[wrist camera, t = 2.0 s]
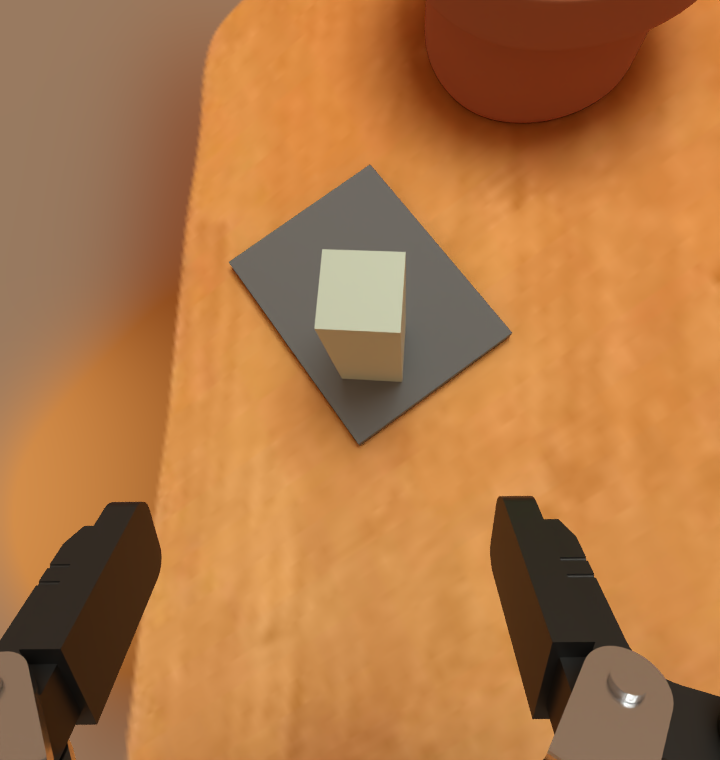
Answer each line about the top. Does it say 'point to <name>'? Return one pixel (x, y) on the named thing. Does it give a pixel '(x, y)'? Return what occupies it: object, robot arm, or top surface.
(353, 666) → the top surface
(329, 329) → the sage block
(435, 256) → the rubber mat
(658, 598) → the top surface
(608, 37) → the potted cactus
